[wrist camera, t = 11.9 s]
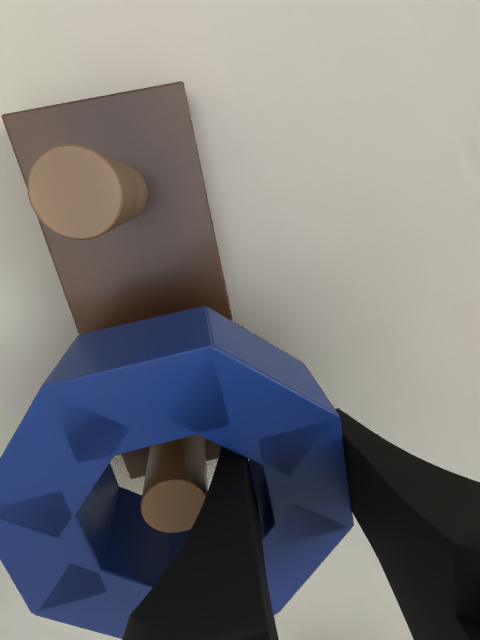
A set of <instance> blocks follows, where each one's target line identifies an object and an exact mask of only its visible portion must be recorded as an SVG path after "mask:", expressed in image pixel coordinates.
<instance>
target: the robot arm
mask: <svg viewBox="0 0 480 640" xmlns="http://www.w3.org/2000/svg"><path fill="white" fill-rule="evenodd" d="M335 410H336V411H337V413H338V414H339V416H340V420H341V428H342V436H343V444H344V452H345V459H346V467H347V475H348V483H349V491H350V499H351V507H352V512H353V514H354V516H355V518H356V519H357V521H358V523H359V525H360V526H361V528H362V530H363V532H364V533H365V535H366V537H367V539H368V541H369V542H370V544H371V546H372V548H373V550H374V552H375V553H376V555H377V557H378V559H379V561H380V563H381V566H382V568H383V570H384V572H385V575H386V577H387V579H388V581H389V583H390V586H391V588H392V590H393V592H394V595H395V597H396V599H397V601H398V604H399V606H400V608H401V611H402V613H403V615H404V618H405V620H406V622H407V624H408V627H409V629H410V631H411V634H412V636H413V639H414V640H480V482H477V481H474V480H471V479H468V478H465V477H463V476H460V475H457V474H455V473H452V472H449V471H447V470H444V469H442V468H440V467H437V466H435V465H433V464H431V463H428V462H426V461H424V460H422V459H420V458H418V457H416V456H414V455H412V454H410V453H408V452H406V451H404V450H402V449H401V448H399V447H397V446H395V445H393V444H392V443H390V442H388V441H386V440H385V439H383V438H382V437H380V436H378V435H377V434H375V433H374V432H372V431H371V430H369V429H368V428H366V427H365V426H363V425H362V424H360V423H359V422H357V421H356V420H354V419H353V418H352V417H350V416H349V415H347V414H346V413H344V412H343V411H341V410H340V409H335ZM123 640H278V635H277V630H276V625H275V620H274V615H273V610H272V605H271V600H270V595H269V590H268V583H267V577H266V569H265V560H264V551H263V543H262V534H261V525H260V517H259V508H258V503H257V499H256V494H255V490H254V485H253V480H252V476H251V471H250V467H249V462H248V458H246V457H244V456H242V455H240V454H237V453H235V452H233V451H231V450H229V449H227V448H225V447H222V446H221V448H220V453H219V457H218V462H217V465H216V469H215V472H214V475H213V479H212V482H211V484H210V487H209V490H208V492H207V495H206V497H205V500H204V503H203V505H202V507H201V509H200V512H199V514H198V516H197V518H196V520H195V522H194V524H193V526H192V528H191V530H190V531H189V533H188V535H187V537H186V539H185V540H184V542H183V544H182V546H181V547H180V549H179V551H178V552H177V554H176V555H175V557H174V558H173V560H172V561H171V563H170V564H169V566H168V567H167V568H166V570H165V571H164V573H163V574H162V576H161V577H160V579H159V580H158V581H157V583H156V584H155V585H154V587H153V588H152V589H151V590H150V591H149V593H148V594H147V595H146V596H145V598H144V599H143V600H142V601H141V602H140V604H139V605H138V606H137V607H136V608H135V610H134V611H133V612H132V613H131V614H130V616H129V619H128V622H127V626H126V629H125V632H124V636H123Z"/></svg>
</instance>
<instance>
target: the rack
mask: <svg viewBox="0 0 480 640" xmlns="http://www.w3.org/2000/svg"><path fill="white" fill-rule="evenodd" d="M2 119H3V122H4V125H5V127H6V130H7V133H8V136H9V139H10V141H11V144H12V147H13V150H14V153H15V155H16V158H17V161H18V164H19V167H20V169H21V172H22V175H23V178H24V181H25V184H26V186H27V189H28V196H29V200H30V203H31V205H32V208H33V210H34V212H35V213H36V215H37V217H38V220H39V223H40V226H41V228H42V231H43V234H44V237H45V240H46V243H47V245H48V248H49V251H50V254H51V257H52V259H53V262H54V265H55V268H56V271H57V273H58V276H59V279H60V282H61V285H62V287H63V290H64V293H65V296H66V299H67V301H68V304H69V307H70V310H71V313H72V316H73V318H74V321H75V324H76V327H77V330H78V332H79V335H80V334H85V333H89V332H93V331H97V330H102V329H106V328H110V327H115V326H119V325H123V324H128V323H132V322H136V321H141V320H145V319H149V318H154V317H158V316H162V315H167V314H171V313H175V312H179V311H184V310H188V309H192V308H197V307H201V306H206V307H209V308H210V309H212V310H214V311H215V312H217V313H219V314H221V315H222V316H224V317H226V318H227V319H229V320H231V321H233V320H232V315H231V310H230V305H229V300H228V296H227V291H226V286H225V281H224V276H223V271H222V267H221V262H220V257H219V252H218V247H217V242H216V238H215V233H214V228H213V223H212V218H211V214H210V209H209V204H208V199H207V194H206V189H205V185H204V180H203V175H202V170H201V165H200V160H199V156H198V151H197V146H196V141H195V136H194V131H193V127H192V122H191V117H190V112H189V107H188V103H187V98H186V93H185V88H184V83H183V82H176V83H171V84H165V85H160V86H154V87H149V88H143V89H138V90H133V91H127V92H122V93H116V94H111V95H106V96H100V97H95V98H89V99H84V100H79V101H73V102H68V103H62V104H57V105H52V106H46V107H41V108H35V109H30V110H24V111H19V112H14V113H8V114H3V115H2ZM220 448H221V446H220V445H218V444H216V443H214V442H212V441H210V440H208V439H205V438H203V437H201V436H199V435H193V436H189V437H185V438H181V439H177V440H173V441H169V442H165V443H161V444H157V445H153V446H149V447H145V448H141V449H137V450H134V451H130V452H126V453H122V456H123V459H124V462H125V464H126V467H127V470H128V473H129V476H130V478H131V479H133V478H137V477H141V476H145V481H144V487H143V493H142V500H141V513H142V516H143V518H144V520H145V521H146V522H147V523H148V524H149V525H150V526H151V527H153V528H154V529H156V530H159V531H162V532H167V533H178V532H183V531H186V530H189V529H191V528H192V526H193V524H194V522H195V520H196V518H197V516H198V514H199V512H200V509H201V507H202V505H203V503H204V500H205V497H206V495H207V492H208V483H207V466H206V461H209V460H213V459H217V458H218V457H219V453H220Z"/></svg>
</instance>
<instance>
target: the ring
mask: <svg viewBox="0 0 480 640" xmlns="http://www.w3.org/2000/svg"><path fill="white" fill-rule="evenodd" d="M193 435H199V436H201V437H203V438H205V439H208V440H210V441H212V442H214V443H216V444H218V445H220V446H222V447H225V448H227V449H229V450H231V451H233V452H235V453H237V454H240V455H242V456H244V457H246V458H248V459H250V460H249V461H248V462H249V467H250V471H251V476H252V480H253V485H254V490H255V494H256V499H257V503H258V508H259V517H260V525H261V534H262V543H263V551H264V560H265V569H266V577H267V583H268V590H269V595H270V600H271V605H272V610H273V615H275V614H277V613H278V612H280V611H281V609H282V608H283V607H284V606H285V605H286V604H287V602H288V601H289V600H290V599H291V598H292V597H293V596H294V594H295V593H296V592H297V591H298V590H299V589H300V587H301V586H302V585H303V584H304V583H305V582H306V580H307V579H308V578H309V577H310V576H311V575H312V574H313V572H314V571H315V570H316V569H317V568H318V567H319V565H320V564H321V563H322V562H323V561H324V560H325V558H326V557H327V556H328V555H329V554H330V553H331V552H332V550H333V549H334V548H335V547H336V546H337V545H338V543H339V542H340V541H341V540H342V539H343V538H344V536H345V535H346V534H347V533H348V532H349V531H350V530H351V528H352V527H353V526H354V523H353V515H352V507H351V499H350V491H349V483H348V475H347V467H346V459H345V452H344V444H343V436H342V428H341V420H340V416H339V414H338V413H337V411H336V410H335V408H334V407H333V405H332V404H331V402H330V401H329V400H328V398H327V397H326V395H325V394H324V392H323V391H322V389H321V388H320V386H319V385H318V383H317V382H316V380H315V379H314V377H313V376H312V375H311V373H310V372H309V370H308V369H307V367H306V366H305V364H303V363H302V362H301V361H299V360H297V359H296V358H294V357H292V356H291V355H289V354H287V353H285V352H284V351H282V350H280V349H279V348H277V347H275V346H273V345H272V344H270V343H268V342H267V341H265V340H263V339H262V338H260V337H258V336H256V335H255V334H253V333H251V332H250V331H248V330H246V329H244V328H243V327H241V326H239V325H238V324H236V323H234V322H233V321H231V320H229V319H227V318H226V317H224V316H222V315H221V314H219V313H217V312H215V311H214V310H212V309H210V308H209V307H206V306H201V307H197V308H192V309H188V310H184V311H179V312H175V313H171V314H167V315H162V316H158V317H154V318H149V319H145V320H141V321H136V322H132V323H128V324H123V325H119V326H115V327H110V328H106V329H102V330H97V331H93V332H89V333H85V334H80V335H79V336H77V338H76V339H75V340H74V342H73V343H72V345H71V346H70V347H69V349H68V350H67V352H66V353H65V354H64V356H63V357H62V359H61V360H60V361H59V363H58V364H57V365H56V367H55V368H54V370H53V371H52V372H51V374H50V375H49V377H48V378H47V379H46V381H45V382H44V384H43V385H42V386H41V388H40V390H39V392H38V393H37V395H36V397H35V399H34V400H33V402H32V404H31V406H30V407H29V409H28V411H27V412H26V414H25V416H24V418H23V419H22V421H21V423H20V425H19V426H18V428H17V430H16V432H15V433H14V435H13V437H12V439H11V440H10V442H9V444H8V446H7V447H6V449H5V451H4V452H3V454H2V456H1V458H0V560H1V561H2V563H3V565H4V566H5V568H6V570H7V572H8V573H9V575H10V577H11V579H12V580H13V582H14V584H15V585H16V587H17V589H18V591H19V592H20V594H21V596H22V598H23V599H24V601H25V603H26V604H27V606H28V608H29V610H30V611H31V613H34V615H37V616H40V617H44V618H48V619H51V620H55V621H58V622H62V623H66V624H69V625H73V626H77V627H80V628H84V629H88V630H91V631H95V632H99V633H102V634H106V635H110V636H113V637H117V638H120V639H123V636H124V632H125V629H126V626H127V622H128V619H129V616H130V614H131V613H132V612H133V611H134V610H135V608H136V607H137V606H138V605H139V604H140V602H141V601H142V600H143V599H144V598H145V596H146V595H147V594H148V593H149V591H150V590H151V589H152V588H153V587H154V585H155V584H156V583H157V581H158V580H159V579H160V577H161V576H162V574H163V573H164V571H165V570H166V568H167V567H168V566H169V564H170V563H171V561H172V560H173V558H174V557H175V555H176V554H177V552H178V551H179V549H180V547H181V546H182V544H183V542H184V540H185V539H186V537H187V535H188V533H189V531H190V530H191V529H189V530H186V531H183V532H178V533H167V532H162V531H159V530H156V529H154V528H153V527H151V526H150V525H149V524H148V523H147V522H146V521H145V520H144V518H143V516H142V513H141V500H142V495H139V494H136V493H134V492H131V491H129V490H126V489H124V488H121V487H119V485H118V483H117V480H116V478H115V475H114V473H113V470H112V468H111V465H110V462H111V460H112V458H113V457H114V455H118V454H122V453H126V452H130V451H134V450H137V449H141V448H145V447H149V446H153V445H157V444H161V443H165V442H169V441H173V440H177V439H181V438H185V437H189V436H193Z"/></svg>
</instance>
